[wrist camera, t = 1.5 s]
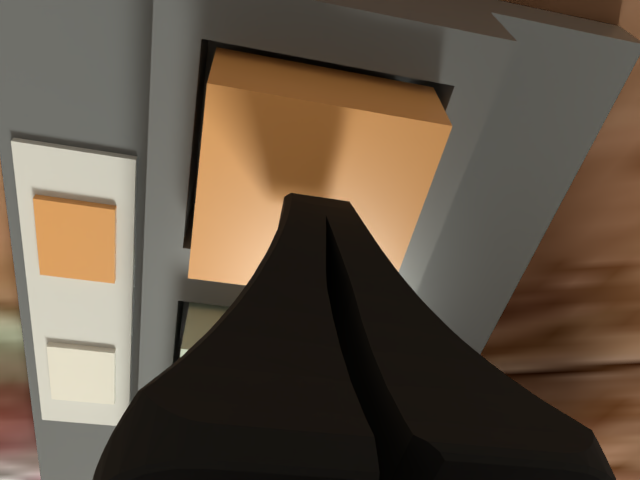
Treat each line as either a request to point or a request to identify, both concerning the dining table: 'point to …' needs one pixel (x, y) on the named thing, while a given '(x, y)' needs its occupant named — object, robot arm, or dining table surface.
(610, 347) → the dining table surface
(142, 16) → the keypad
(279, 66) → the orange key
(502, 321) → the dining table surface
